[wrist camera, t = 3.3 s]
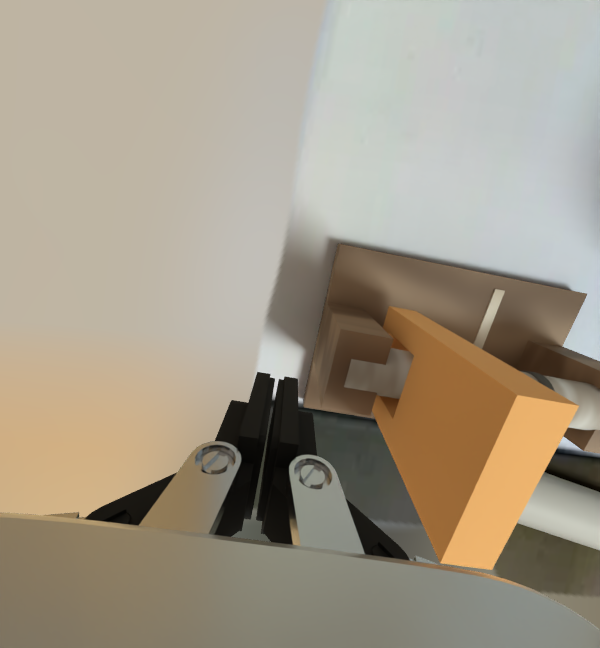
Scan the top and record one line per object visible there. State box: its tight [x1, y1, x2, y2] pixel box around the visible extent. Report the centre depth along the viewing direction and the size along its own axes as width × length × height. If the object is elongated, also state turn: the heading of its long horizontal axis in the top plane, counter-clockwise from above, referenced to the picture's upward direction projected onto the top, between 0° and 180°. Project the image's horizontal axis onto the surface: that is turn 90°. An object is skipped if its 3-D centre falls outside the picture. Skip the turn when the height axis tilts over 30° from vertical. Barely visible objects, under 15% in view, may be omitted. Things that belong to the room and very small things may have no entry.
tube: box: [517, 472, 600, 550], centre depth 27 cm, size 5×5×25 cm
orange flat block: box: [372, 306, 579, 570], centre depth 15 cm, size 7×2×12 cm, turn 169°
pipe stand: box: [303, 244, 600, 453], centre depth 20 cm, size 14×20×9 cm
